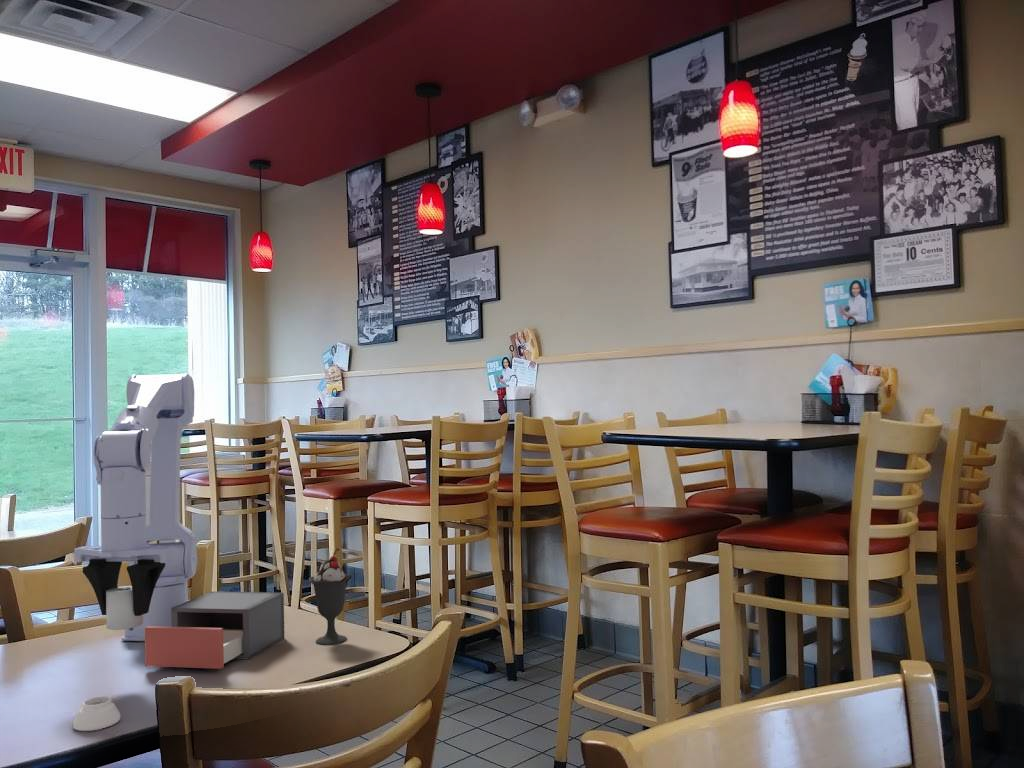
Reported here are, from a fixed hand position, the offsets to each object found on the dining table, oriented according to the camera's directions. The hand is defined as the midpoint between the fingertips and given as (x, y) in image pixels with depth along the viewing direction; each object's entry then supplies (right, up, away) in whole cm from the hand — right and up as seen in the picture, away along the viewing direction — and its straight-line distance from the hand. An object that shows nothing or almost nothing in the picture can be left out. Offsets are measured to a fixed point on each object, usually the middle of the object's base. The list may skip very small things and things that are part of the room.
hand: (125, 613), depth 111 cm
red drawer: (+8, -9, +8) cm, 14 cm away
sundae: (+25, -9, +17) cm, 32 cm away
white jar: (+4, -9, -16) cm, 19 cm away
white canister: (0, -2, 0) cm, 2 cm away
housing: (+9, -10, +15) cm, 20 cm away
